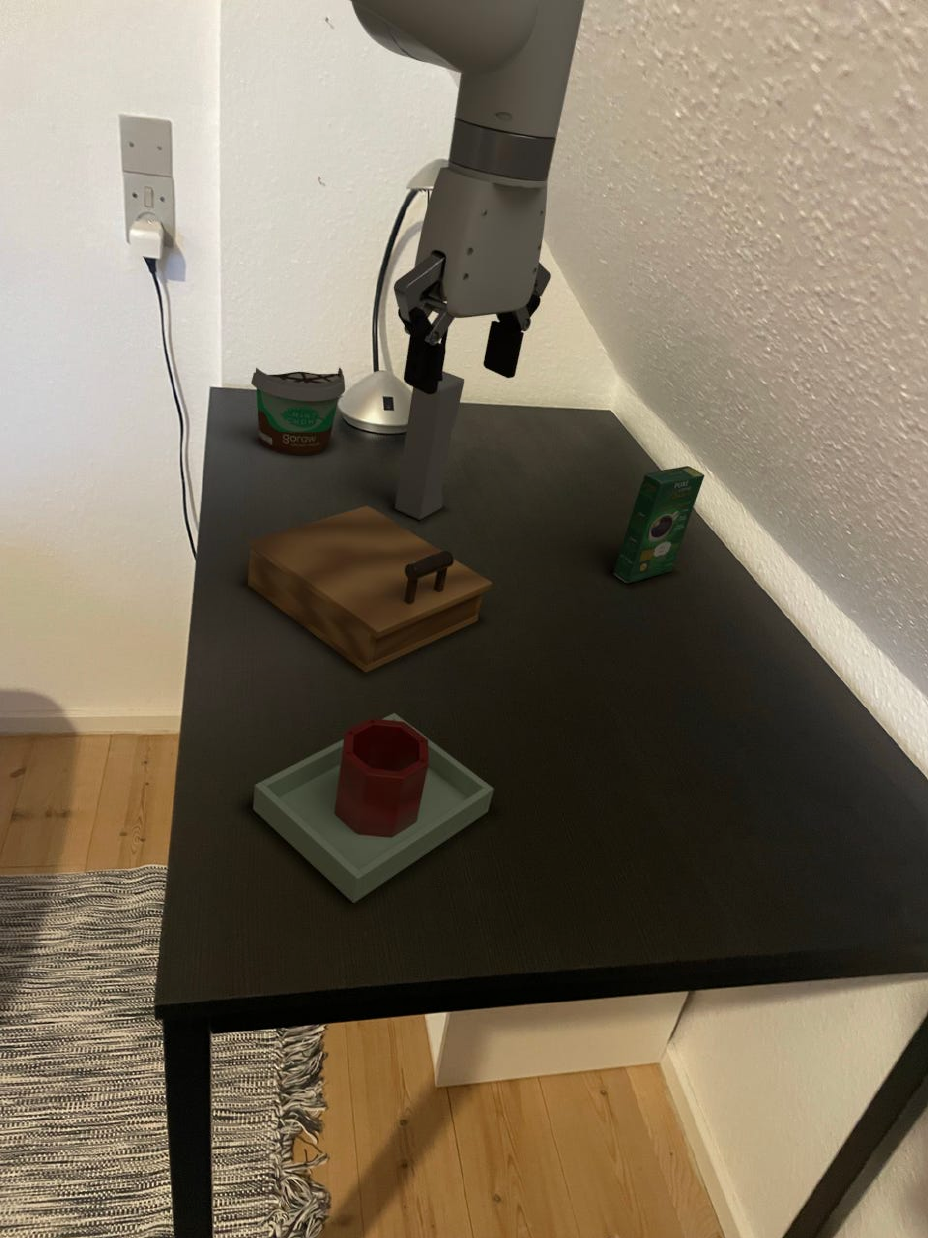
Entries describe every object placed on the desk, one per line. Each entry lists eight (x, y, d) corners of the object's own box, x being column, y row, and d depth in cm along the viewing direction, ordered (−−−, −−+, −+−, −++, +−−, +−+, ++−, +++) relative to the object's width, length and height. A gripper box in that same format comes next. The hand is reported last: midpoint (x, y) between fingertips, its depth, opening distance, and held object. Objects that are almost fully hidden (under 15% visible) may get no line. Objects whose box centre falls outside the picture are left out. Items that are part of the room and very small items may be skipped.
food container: (263, 461, 119) (267, 385, 114) (248, 441, 123) (251, 367, 118) (353, 457, 125) (362, 384, 120) (335, 437, 129) (343, 366, 124)
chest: (477, 621, 97) (485, 585, 95) (365, 673, 86) (371, 634, 84) (362, 546, 106) (366, 512, 103) (247, 585, 95) (249, 548, 93)
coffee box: (656, 560, 115) (688, 462, 108) (673, 572, 114) (707, 473, 107) (610, 573, 111) (641, 471, 104) (628, 585, 109) (660, 483, 102)
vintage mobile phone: (441, 509, 117) (478, 306, 103) (419, 521, 113) (454, 312, 100) (417, 498, 118) (449, 296, 105) (394, 510, 114) (425, 302, 101)
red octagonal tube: (374, 849, 68) (384, 789, 65) (318, 800, 71) (325, 740, 68) (433, 811, 72) (445, 753, 69) (378, 767, 76) (387, 708, 72)
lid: (491, 589, 94) (500, 546, 92) (377, 639, 84) (384, 591, 81) (366, 511, 103) (372, 470, 101) (249, 547, 93) (252, 502, 90)
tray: (353, 904, 64) (357, 879, 63) (252, 809, 70) (254, 784, 69) (488, 811, 74) (494, 788, 73) (390, 735, 80) (394, 712, 78)
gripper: (534, 147, 77) (494, 353, 86) (379, 138, 65) (352, 378, 74) (608, 169, 73) (558, 382, 82) (458, 164, 61) (419, 413, 70)
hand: (460, 380), depth 78 cm, fingers open, 9 cm apart
